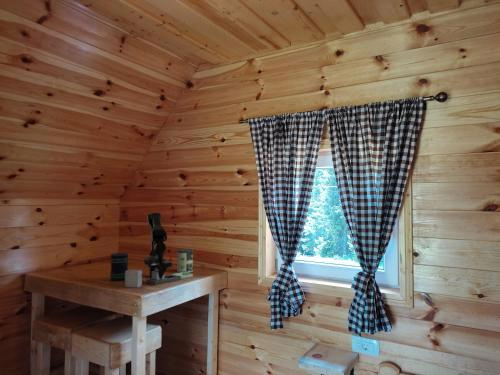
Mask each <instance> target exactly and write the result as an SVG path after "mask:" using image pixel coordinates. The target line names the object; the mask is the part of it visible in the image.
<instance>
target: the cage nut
mask: <svg viewBox="0 0 500 375" xmlns="http://www.w3.org/2000/svg"><path fill="white" fill-rule="evenodd" d="M164 276H165V274H164V275H163V277H162V279H160V276H159V269H158V268H155V271H152V280H156V281H157V280H163V279H164Z"/></svg>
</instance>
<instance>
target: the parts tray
mask: <svg viewBox="0 0 500 375" xmlns="http://www.w3.org/2000/svg"><path fill="white" fill-rule="evenodd" d="M171 274H172V275H176V276H181V280H183V279H188V278H193V277H194V274H193V273H191V272H189V273H185V272H181V273H179V272H175V273H171Z"/></svg>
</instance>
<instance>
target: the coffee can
mask: <svg viewBox="0 0 500 375" xmlns="http://www.w3.org/2000/svg"><path fill="white" fill-rule="evenodd" d="M176 251H177V252H176V253H177V255H176V256H177V258H176V259H177V263H176V264H177V267H176V268H177V269H176V270H177V272H176V273H181V272H185V273H192V272H193V271H194V267H193V263H194V259H193V258H194V256H193V255H194V254H193V253H194V250H193V249H190V248H185V249H183V248H182V249H177V250H176Z"/></svg>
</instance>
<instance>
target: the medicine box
mask: <svg viewBox="0 0 500 375" xmlns="http://www.w3.org/2000/svg"><path fill="white" fill-rule="evenodd" d="M142 286H143V270H142V269H128V270H127V271H125V281H124V287H125V288H140V287H142Z"/></svg>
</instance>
